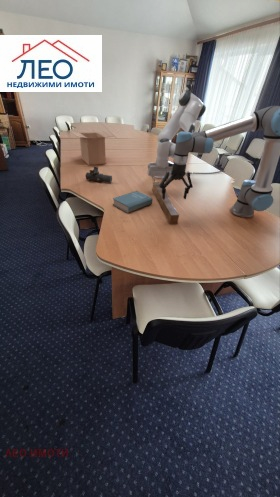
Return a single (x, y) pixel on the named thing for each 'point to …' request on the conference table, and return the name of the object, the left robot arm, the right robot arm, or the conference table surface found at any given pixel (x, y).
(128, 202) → the book
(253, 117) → the right robot arm
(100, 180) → the laser sight
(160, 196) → the bar
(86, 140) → the box
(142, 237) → the conference table surface
